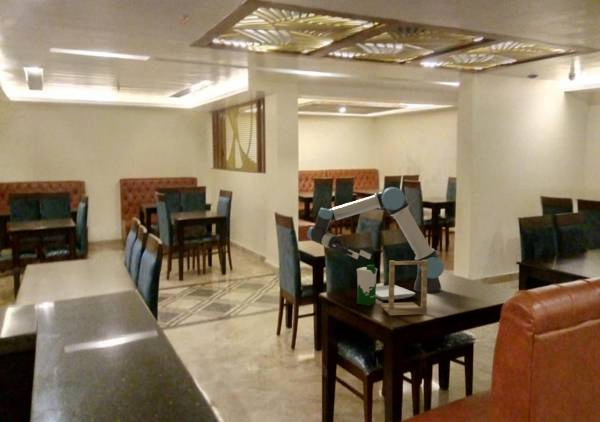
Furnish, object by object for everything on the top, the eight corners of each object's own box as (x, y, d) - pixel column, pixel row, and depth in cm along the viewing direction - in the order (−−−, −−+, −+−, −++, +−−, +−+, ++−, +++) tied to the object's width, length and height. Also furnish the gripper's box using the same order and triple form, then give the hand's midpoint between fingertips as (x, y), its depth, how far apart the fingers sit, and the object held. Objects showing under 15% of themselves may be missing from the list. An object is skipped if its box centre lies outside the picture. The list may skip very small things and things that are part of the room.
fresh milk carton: (370, 306, 240) (370, 267, 238) (354, 303, 245) (354, 265, 243) (378, 302, 247) (378, 264, 245) (362, 300, 252) (363, 262, 250)
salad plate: (361, 293, 268) (362, 287, 267) (394, 290, 275) (395, 284, 275) (381, 303, 248) (381, 296, 248) (416, 299, 255) (416, 293, 255)
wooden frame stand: (379, 304, 244) (380, 254, 241) (413, 303, 246) (414, 254, 244) (389, 315, 226) (391, 261, 224) (426, 314, 228) (428, 260, 226)
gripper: (341, 248, 272) (372, 263, 260) (317, 247, 252) (350, 263, 240) (345, 236, 271) (377, 250, 259) (321, 234, 251) (355, 249, 239)
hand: (364, 256), depth 250 cm, fingers open, 13 cm apart
